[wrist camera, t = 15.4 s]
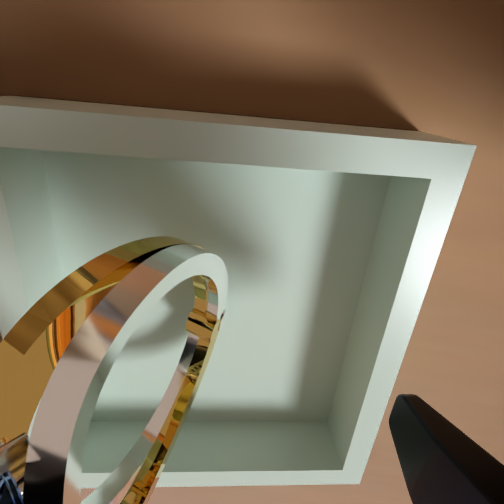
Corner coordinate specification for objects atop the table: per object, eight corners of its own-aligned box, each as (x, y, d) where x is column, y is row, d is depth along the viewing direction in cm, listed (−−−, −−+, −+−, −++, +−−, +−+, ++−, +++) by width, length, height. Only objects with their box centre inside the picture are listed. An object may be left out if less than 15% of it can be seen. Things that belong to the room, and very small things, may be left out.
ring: (192, 194, 10) (-235, 337, 3) (294, 234, 10) (33, 525, 3) (156, 370, 13) (-115, 653, 6) (232, 410, 12) (27, 783, 5)
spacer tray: (420, 131, 10) (476, 145, 8) (339, 424, 15) (359, 483, 13) (10, 95, 9) (-62, 99, 7) (71, 423, 14) (42, 488, 12)
